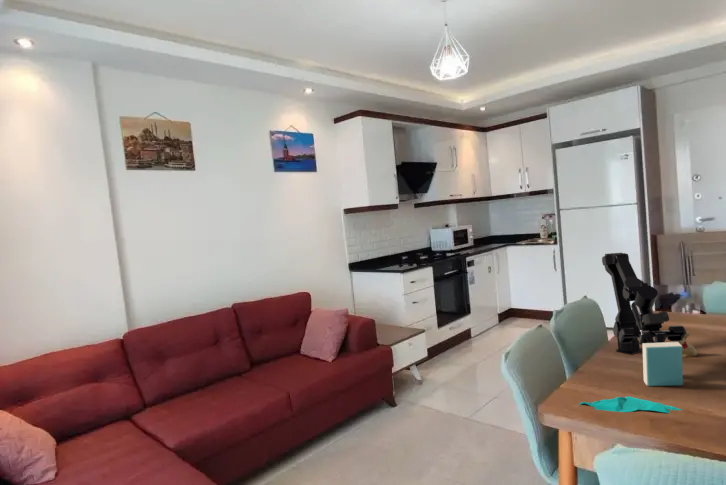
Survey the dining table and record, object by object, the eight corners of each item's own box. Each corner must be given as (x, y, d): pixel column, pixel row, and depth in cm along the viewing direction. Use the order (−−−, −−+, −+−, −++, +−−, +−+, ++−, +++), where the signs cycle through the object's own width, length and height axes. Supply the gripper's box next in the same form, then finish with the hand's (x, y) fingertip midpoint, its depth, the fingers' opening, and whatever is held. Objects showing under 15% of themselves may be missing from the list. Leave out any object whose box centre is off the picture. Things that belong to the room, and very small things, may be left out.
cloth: (683, 405, 133) (682, 397, 133) (683, 425, 122) (683, 417, 122) (584, 393, 148) (583, 386, 148) (576, 411, 136) (575, 403, 136)
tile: (643, 381, 150) (642, 343, 147) (678, 380, 147) (677, 341, 145) (647, 386, 146) (646, 347, 144) (683, 385, 144) (682, 346, 142)
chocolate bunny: (671, 352, 174) (669, 325, 173) (697, 353, 169) (695, 326, 169) (671, 356, 169) (669, 329, 168) (698, 358, 165) (696, 330, 164)
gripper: (618, 304, 154) (632, 346, 144) (681, 300, 150) (700, 344, 140) (613, 322, 162) (626, 363, 152) (672, 319, 158) (690, 361, 148)
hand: (660, 358), depth 147 cm, fingers closed
